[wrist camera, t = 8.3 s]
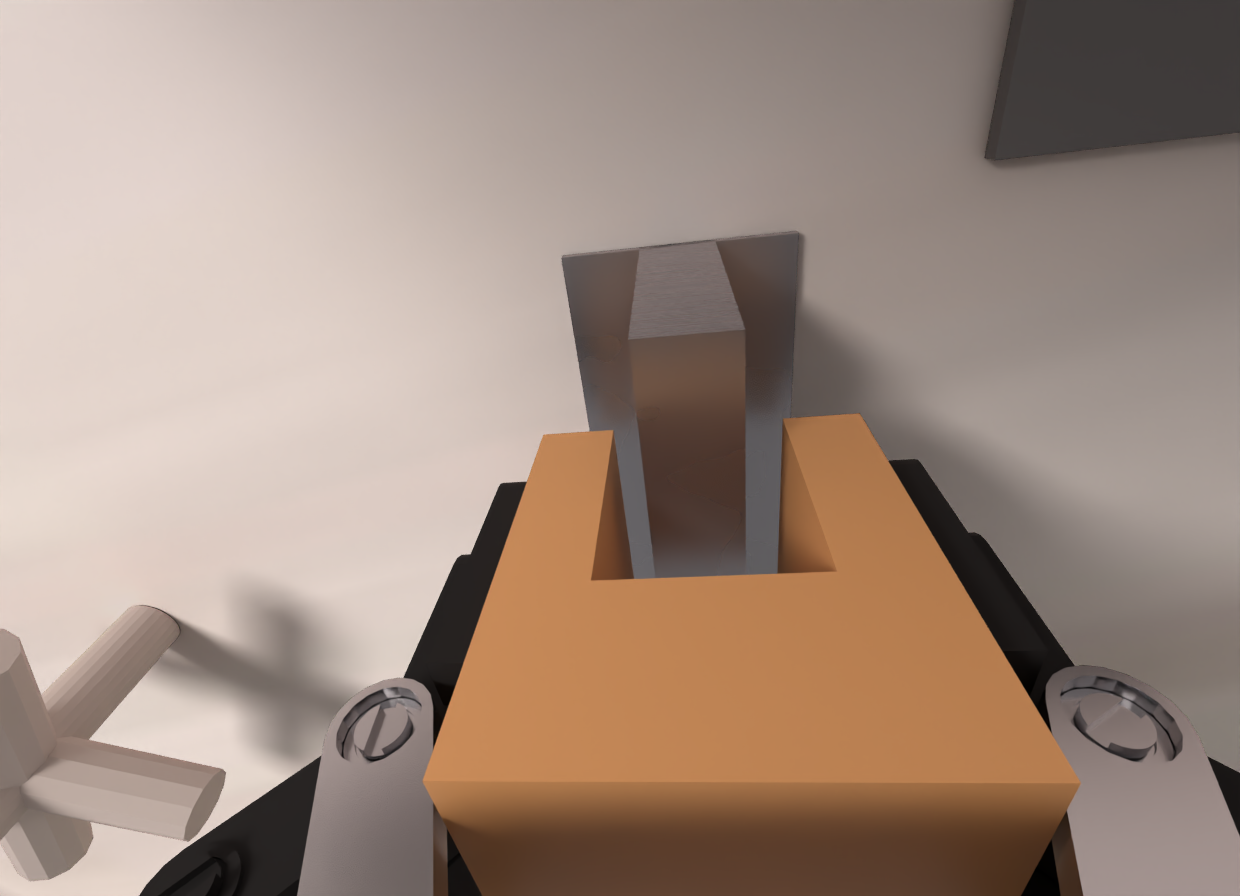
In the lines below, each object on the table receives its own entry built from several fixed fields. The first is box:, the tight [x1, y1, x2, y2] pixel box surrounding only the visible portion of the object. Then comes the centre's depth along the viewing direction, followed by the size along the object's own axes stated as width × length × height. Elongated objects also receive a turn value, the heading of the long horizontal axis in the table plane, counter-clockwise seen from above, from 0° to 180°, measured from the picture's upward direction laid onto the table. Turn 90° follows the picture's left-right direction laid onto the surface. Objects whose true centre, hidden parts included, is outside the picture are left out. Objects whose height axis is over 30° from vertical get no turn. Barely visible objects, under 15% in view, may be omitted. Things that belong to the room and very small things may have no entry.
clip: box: [422, 413, 1081, 896], centre depth 9 cm, size 4×6×6 cm
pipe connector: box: [0, 606, 226, 881], centre depth 16 cm, size 10×10×10 cm
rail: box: [561, 231, 799, 579], centre depth 15 cm, size 22×5×8 cm, turn 7°
